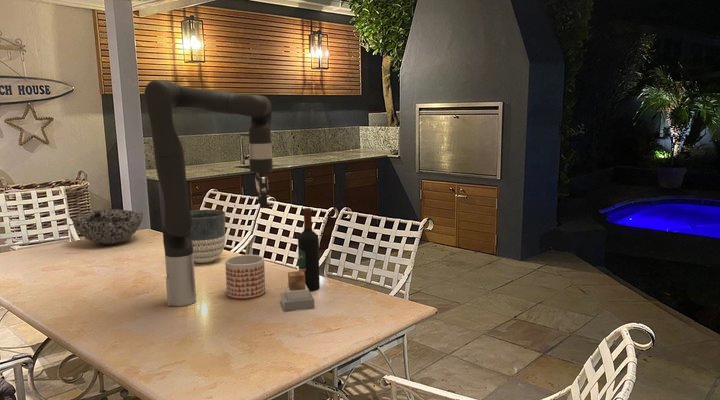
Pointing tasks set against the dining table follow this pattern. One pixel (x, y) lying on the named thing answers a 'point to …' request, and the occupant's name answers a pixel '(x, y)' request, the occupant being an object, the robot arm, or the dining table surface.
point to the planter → (207, 234)
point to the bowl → (108, 225)
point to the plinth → (297, 299)
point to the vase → (245, 276)
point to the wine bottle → (309, 253)
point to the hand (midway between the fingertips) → (262, 205)
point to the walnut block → (296, 280)
